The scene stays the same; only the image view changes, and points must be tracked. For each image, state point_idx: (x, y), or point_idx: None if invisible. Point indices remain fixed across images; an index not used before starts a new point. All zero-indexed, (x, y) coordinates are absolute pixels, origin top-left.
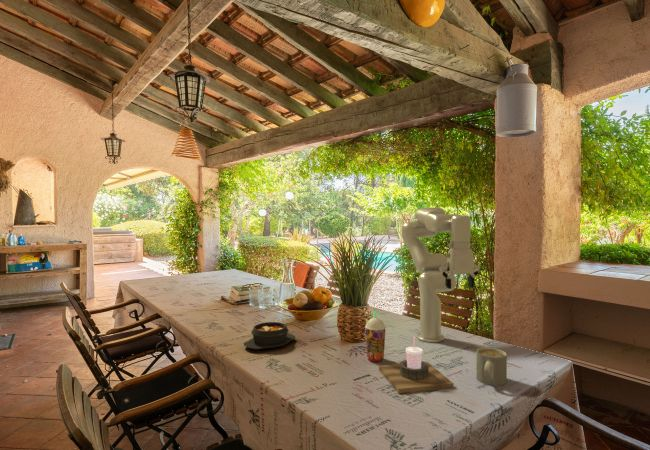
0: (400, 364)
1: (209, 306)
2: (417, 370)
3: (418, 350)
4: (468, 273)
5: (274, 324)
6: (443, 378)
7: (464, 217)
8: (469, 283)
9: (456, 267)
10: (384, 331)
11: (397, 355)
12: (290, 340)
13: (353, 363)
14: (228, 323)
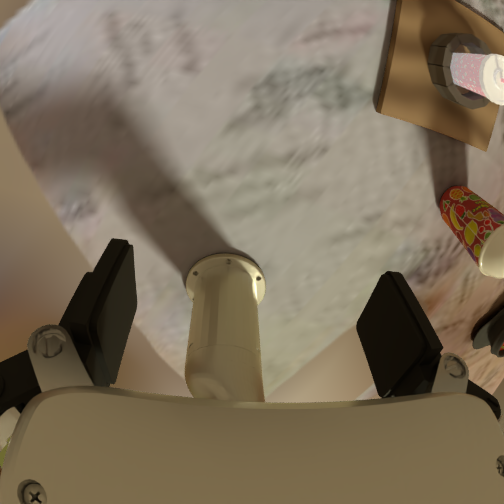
0: None
1: None
2: (483, 41)
3: (494, 68)
4: (170, 402)
5: (499, 352)
6: (412, 6)
7: None
8: (125, 309)
9: (476, 502)
10: (492, 224)
11: (396, 204)
12: (494, 317)
13: (491, 201)
14: None
